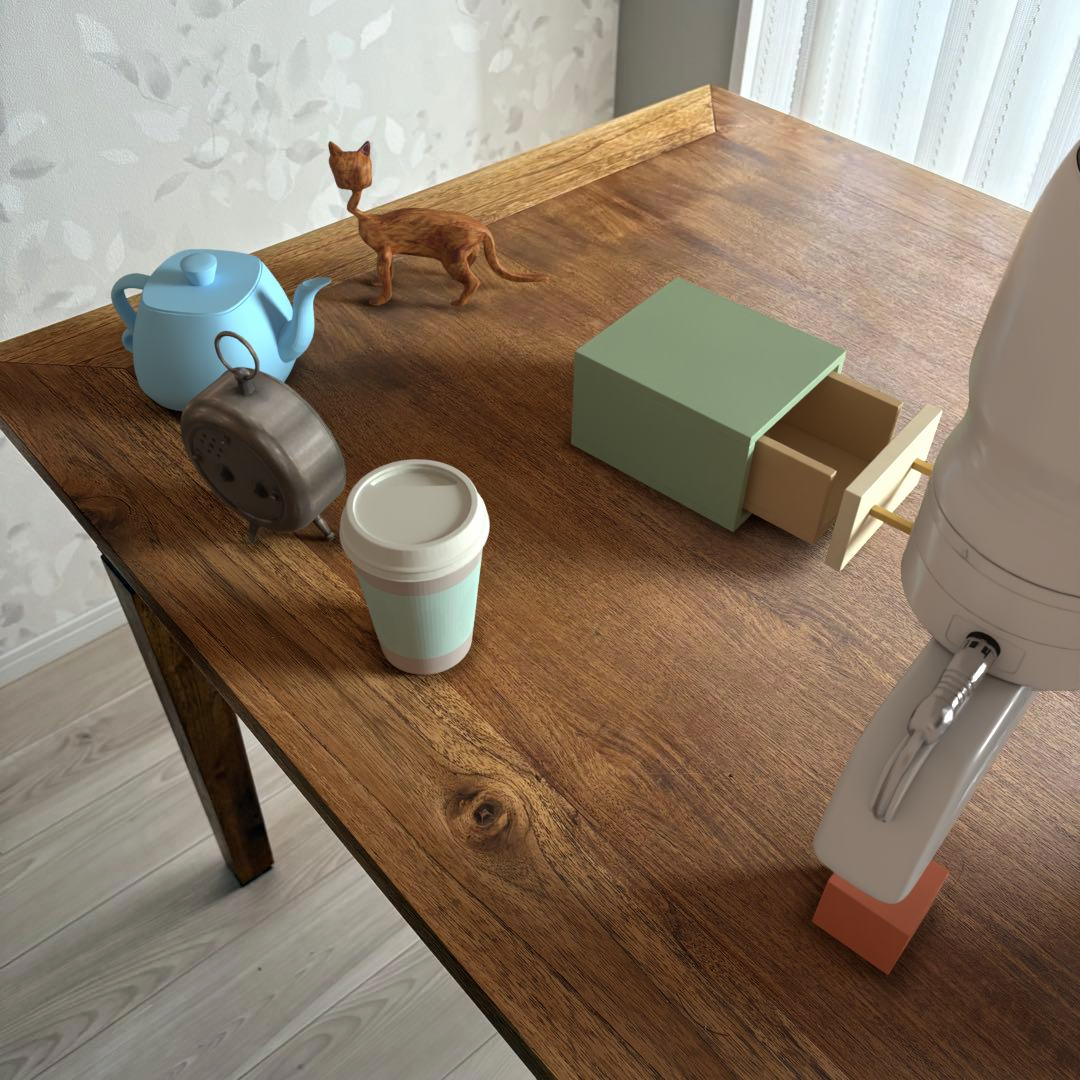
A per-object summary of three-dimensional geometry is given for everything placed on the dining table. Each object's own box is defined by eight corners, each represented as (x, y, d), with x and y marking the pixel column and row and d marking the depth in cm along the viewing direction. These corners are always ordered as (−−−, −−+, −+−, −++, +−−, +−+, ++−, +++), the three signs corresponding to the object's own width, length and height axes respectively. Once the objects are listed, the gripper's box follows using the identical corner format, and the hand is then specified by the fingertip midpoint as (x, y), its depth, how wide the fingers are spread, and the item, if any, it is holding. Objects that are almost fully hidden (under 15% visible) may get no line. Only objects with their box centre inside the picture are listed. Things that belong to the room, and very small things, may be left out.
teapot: (305, 321, 77) (58, 297, 78) (325, 439, 84) (99, 416, 86) (353, 228, 85) (130, 208, 87) (367, 343, 93) (162, 323, 95)
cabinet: (823, 443, 84) (847, 350, 78) (733, 532, 78) (751, 438, 72) (667, 367, 91) (677, 276, 85) (570, 444, 84) (574, 350, 78)
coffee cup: (518, 621, 72) (517, 484, 63) (444, 714, 67) (432, 579, 58) (410, 571, 75) (395, 434, 66) (331, 657, 70) (303, 520, 61)
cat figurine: (547, 270, 101) (550, 124, 91) (551, 311, 96) (554, 163, 87) (349, 273, 100) (330, 127, 91) (343, 315, 96) (322, 166, 86)
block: (927, 912, 58) (950, 871, 55) (887, 975, 56) (909, 936, 53) (852, 862, 60) (870, 820, 57) (811, 921, 58) (827, 881, 55)
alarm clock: (360, 532, 77) (330, 339, 66) (309, 580, 74) (268, 386, 63) (243, 474, 81) (195, 283, 70) (189, 518, 78) (130, 325, 67)
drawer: (980, 513, 78) (1010, 439, 73) (905, 607, 72) (933, 533, 67) (758, 407, 86) (771, 334, 81) (673, 483, 80) (682, 409, 75)
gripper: (1002, 816, 32) (889, 1009, 42) (1223, 455, 43) (1092, 675, 53) (809, 700, 34) (746, 907, 44) (1063, 389, 46) (967, 610, 55)
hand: (936, 778), depth 49 cm, fingers closed
